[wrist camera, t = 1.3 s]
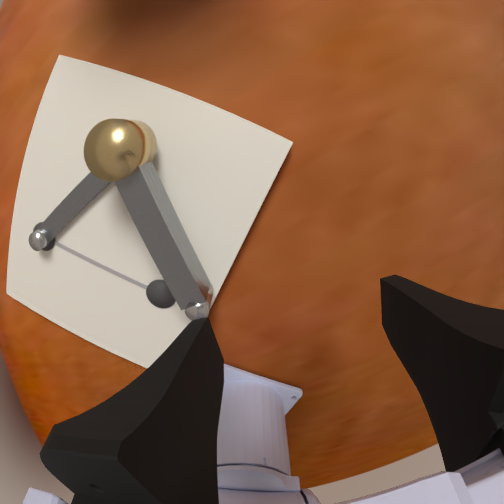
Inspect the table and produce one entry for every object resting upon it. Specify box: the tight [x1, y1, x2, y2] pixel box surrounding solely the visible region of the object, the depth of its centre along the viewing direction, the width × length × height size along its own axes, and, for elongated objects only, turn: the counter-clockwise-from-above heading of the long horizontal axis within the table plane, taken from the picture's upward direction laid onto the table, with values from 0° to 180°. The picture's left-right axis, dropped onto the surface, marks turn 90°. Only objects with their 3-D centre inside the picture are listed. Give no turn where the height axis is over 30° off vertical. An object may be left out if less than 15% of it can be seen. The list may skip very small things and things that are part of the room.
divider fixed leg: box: [29, 172, 112, 251], centre depth 18 cm, size 10×1×1 cm, turn 124°
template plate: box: [7, 55, 293, 368], centre depth 20 cm, size 20×17×2 cm
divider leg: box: [84, 118, 214, 320], centre depth 17 cm, size 12×3×3 cm, turn 22°
